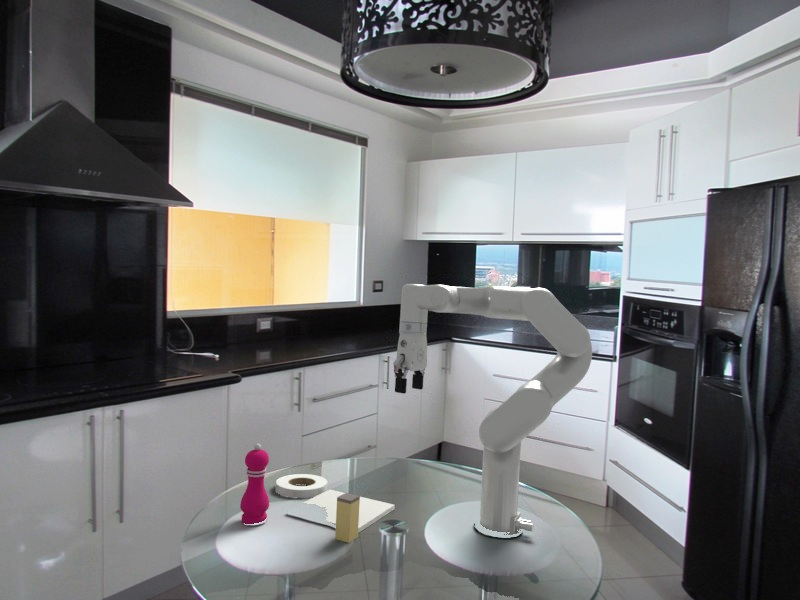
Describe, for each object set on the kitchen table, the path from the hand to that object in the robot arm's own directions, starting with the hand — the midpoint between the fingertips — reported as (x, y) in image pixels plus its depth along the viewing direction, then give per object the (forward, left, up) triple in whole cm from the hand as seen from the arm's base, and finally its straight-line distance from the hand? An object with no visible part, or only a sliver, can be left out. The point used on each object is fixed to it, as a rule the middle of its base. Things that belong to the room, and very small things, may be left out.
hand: (409, 390), depth 150 cm
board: (+15, +9, -34) cm, 38 cm away
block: (+5, +22, -34) cm, 40 cm away
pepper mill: (+30, +27, -34) cm, 52 cm away
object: (+35, +1, -34) cm, 49 cm away
